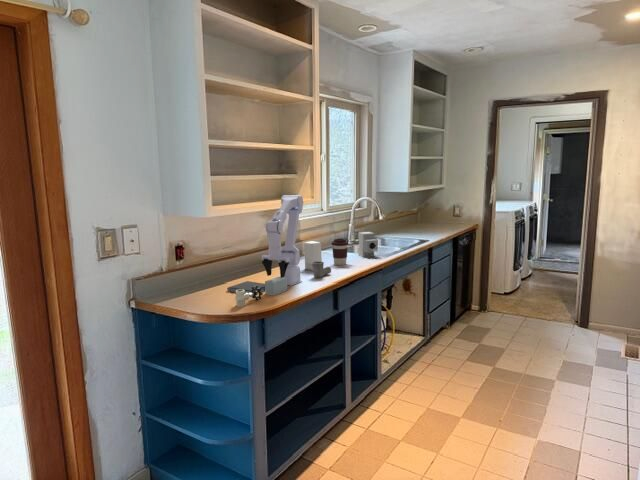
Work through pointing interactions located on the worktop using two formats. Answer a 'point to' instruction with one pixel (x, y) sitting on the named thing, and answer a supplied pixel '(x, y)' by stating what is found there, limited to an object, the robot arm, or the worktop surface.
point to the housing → (275, 285)
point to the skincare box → (312, 253)
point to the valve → (247, 296)
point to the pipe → (320, 269)
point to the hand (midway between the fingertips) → (275, 276)
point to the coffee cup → (339, 251)
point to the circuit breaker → (367, 244)
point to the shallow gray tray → (246, 287)
